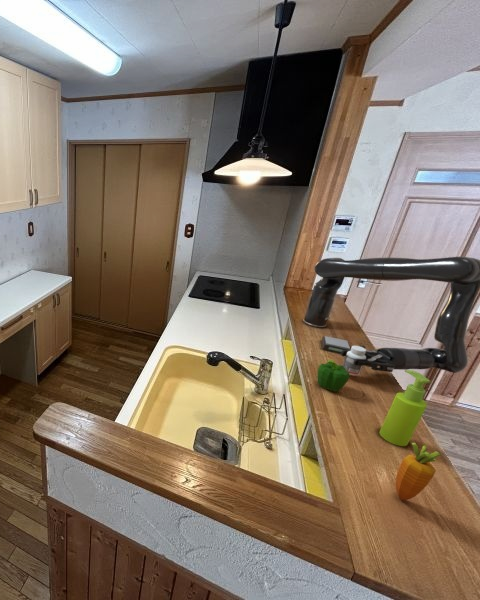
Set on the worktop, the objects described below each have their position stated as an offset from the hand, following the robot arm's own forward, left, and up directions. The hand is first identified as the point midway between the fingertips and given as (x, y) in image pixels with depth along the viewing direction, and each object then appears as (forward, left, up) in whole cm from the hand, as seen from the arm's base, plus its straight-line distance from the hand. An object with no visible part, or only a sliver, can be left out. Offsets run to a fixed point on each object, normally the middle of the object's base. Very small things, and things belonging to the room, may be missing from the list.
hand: (348, 357), depth 114 cm
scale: (-25, 0, -8) cm, 26 cm away
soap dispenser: (+29, +8, -8) cm, 31 cm away
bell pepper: (+10, -5, -8) cm, 14 cm away
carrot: (+53, +5, -8) cm, 54 cm away
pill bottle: (-1, +2, -6) cm, 7 cm away
